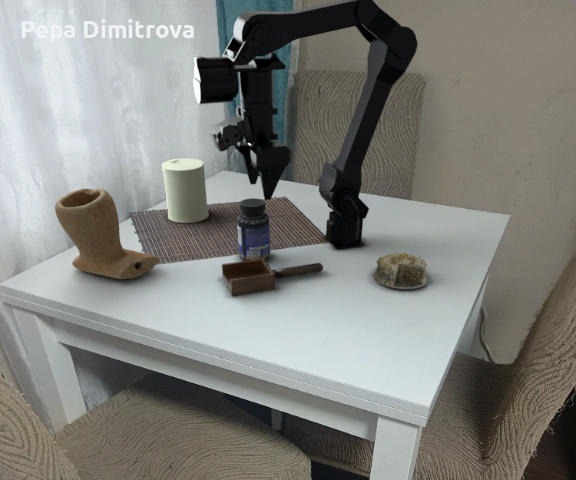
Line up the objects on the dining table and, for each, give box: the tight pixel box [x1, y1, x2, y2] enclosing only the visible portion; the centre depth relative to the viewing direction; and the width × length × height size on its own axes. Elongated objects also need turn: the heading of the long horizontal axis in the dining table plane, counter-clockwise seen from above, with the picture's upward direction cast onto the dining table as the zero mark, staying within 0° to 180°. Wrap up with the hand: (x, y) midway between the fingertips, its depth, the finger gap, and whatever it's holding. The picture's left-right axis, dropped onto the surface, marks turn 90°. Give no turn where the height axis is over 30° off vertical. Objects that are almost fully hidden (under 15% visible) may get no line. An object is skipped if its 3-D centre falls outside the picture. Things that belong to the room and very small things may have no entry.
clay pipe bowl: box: [54, 187, 160, 280], centre depth 103 cm, size 15×12×15 cm
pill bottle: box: [236, 197, 271, 262], centre depth 109 cm, size 6×6×11 cm
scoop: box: [221, 258, 324, 297], centre depth 104 cm, size 18×7×3 cm, turn 109°
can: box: [161, 157, 210, 224], centre depth 127 cm, size 9×9×12 cm
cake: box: [372, 252, 429, 290], centre depth 104 cm, size 10×10×5 cm
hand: (260, 191), depth 107 cm, fingers open, 9 cm apart
